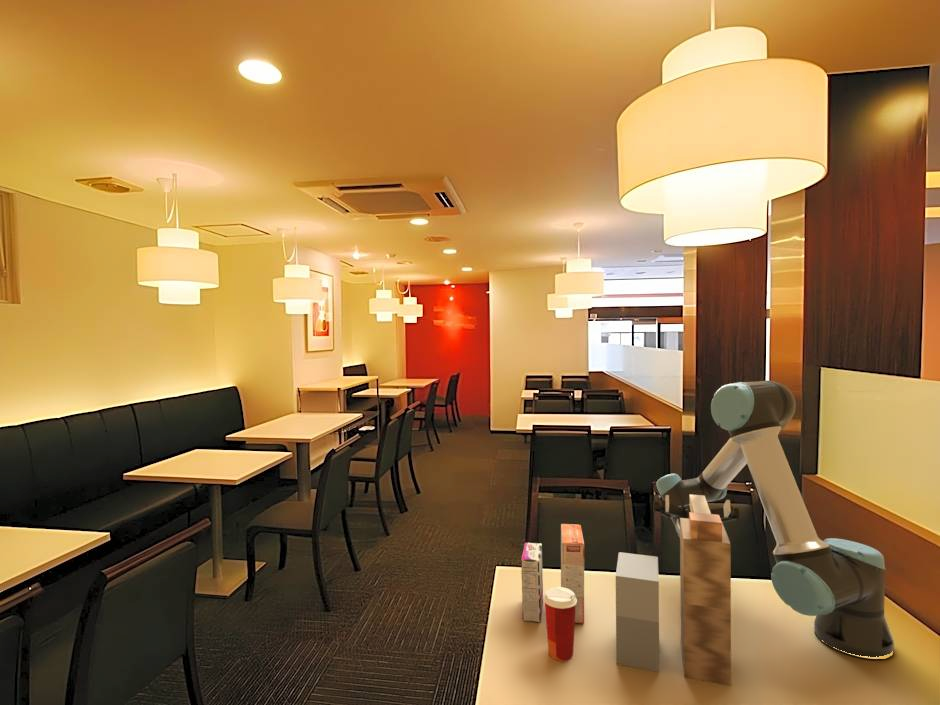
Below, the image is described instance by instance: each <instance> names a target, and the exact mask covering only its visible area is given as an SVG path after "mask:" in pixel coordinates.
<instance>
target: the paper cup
mask: <svg viewBox="0 0 940 705" xmlns="http://www.w3.org/2000/svg"><path fill="white" fill-rule="evenodd" d="M543 603H544V608H545V610H544V611H545V622H546V623H545V624H546V626H545V627H546V634H547V635H546V637H547V649H548V655H549V656H550V658H552V660H556V661H558V660H559V662H566V661H569V660H571V659H572V657H573V655H574V644H575V643H574V642H575V624H576V623H575V607H576V603H577V599H576V597H575V594H574V592H573V591H571V590H570V589H567V588H563V587H561V586H554V587H551V588H548V589H547V590H546V591H545V592H544V593H543Z"/></svg>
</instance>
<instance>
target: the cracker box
mask: <svg viewBox="0 0 940 705" xmlns="http://www.w3.org/2000/svg"><path fill="white" fill-rule="evenodd" d="M560 587H563V588H567V589H570V590H571V591H573V592H574V594H575V597H576V599H577V603H576V607H575V624H584V623H585V541H584V536H583V529H582V526H581V524H577V523H576V524H573V523H572V524H571V523H570V524H569V523H560Z"/></svg>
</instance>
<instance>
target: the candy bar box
mask: <svg viewBox="0 0 940 705" xmlns="http://www.w3.org/2000/svg"><path fill="white" fill-rule="evenodd" d="M542 548H543V544H542V543H541V542H540V543H538V542H524V544H523V550H522V551H523V552H522V555H521V560H520V561H521V563H520V564H521V566H520V568H521V569H520V570H521V591H522V594H521V598H522V599H521V600H522V605H521V606H522V621H523V622H529V621H533V622H532V623H541V622H542V614H543V605H544V600H543V596H544V584H543V583H544V582H543V579H544V578H543V549H542Z"/></svg>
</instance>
